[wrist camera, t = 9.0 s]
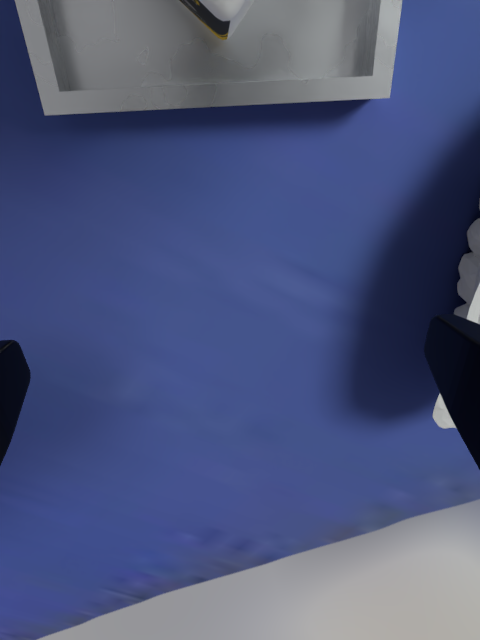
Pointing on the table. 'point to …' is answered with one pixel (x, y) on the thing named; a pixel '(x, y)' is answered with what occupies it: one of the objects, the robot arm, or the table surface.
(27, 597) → the table surface
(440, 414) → the dental model
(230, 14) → the medicine bottle
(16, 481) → the table surface
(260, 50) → the tray
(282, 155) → the table surface
